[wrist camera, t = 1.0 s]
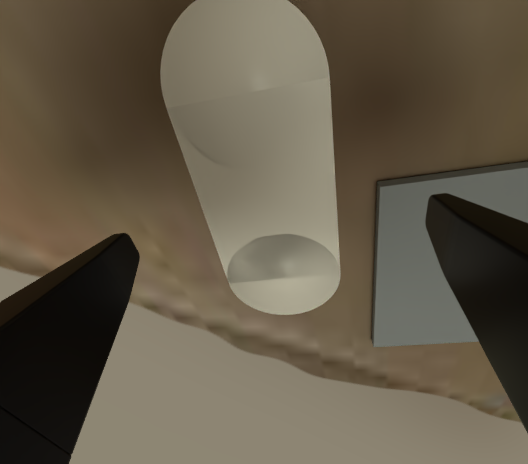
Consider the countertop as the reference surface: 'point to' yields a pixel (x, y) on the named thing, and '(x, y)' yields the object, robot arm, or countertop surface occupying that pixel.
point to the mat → (429, 252)
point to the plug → (258, 146)
